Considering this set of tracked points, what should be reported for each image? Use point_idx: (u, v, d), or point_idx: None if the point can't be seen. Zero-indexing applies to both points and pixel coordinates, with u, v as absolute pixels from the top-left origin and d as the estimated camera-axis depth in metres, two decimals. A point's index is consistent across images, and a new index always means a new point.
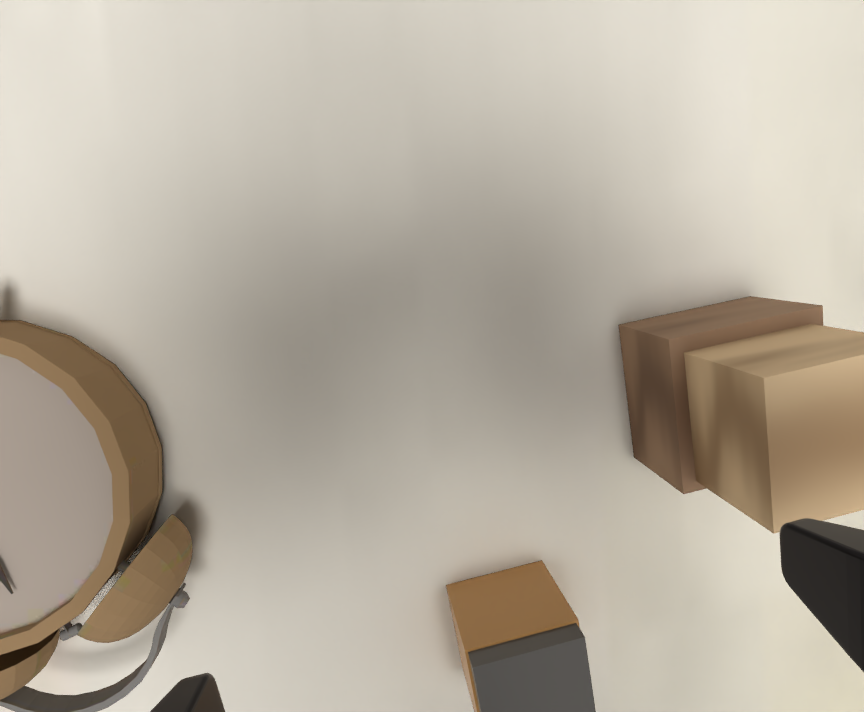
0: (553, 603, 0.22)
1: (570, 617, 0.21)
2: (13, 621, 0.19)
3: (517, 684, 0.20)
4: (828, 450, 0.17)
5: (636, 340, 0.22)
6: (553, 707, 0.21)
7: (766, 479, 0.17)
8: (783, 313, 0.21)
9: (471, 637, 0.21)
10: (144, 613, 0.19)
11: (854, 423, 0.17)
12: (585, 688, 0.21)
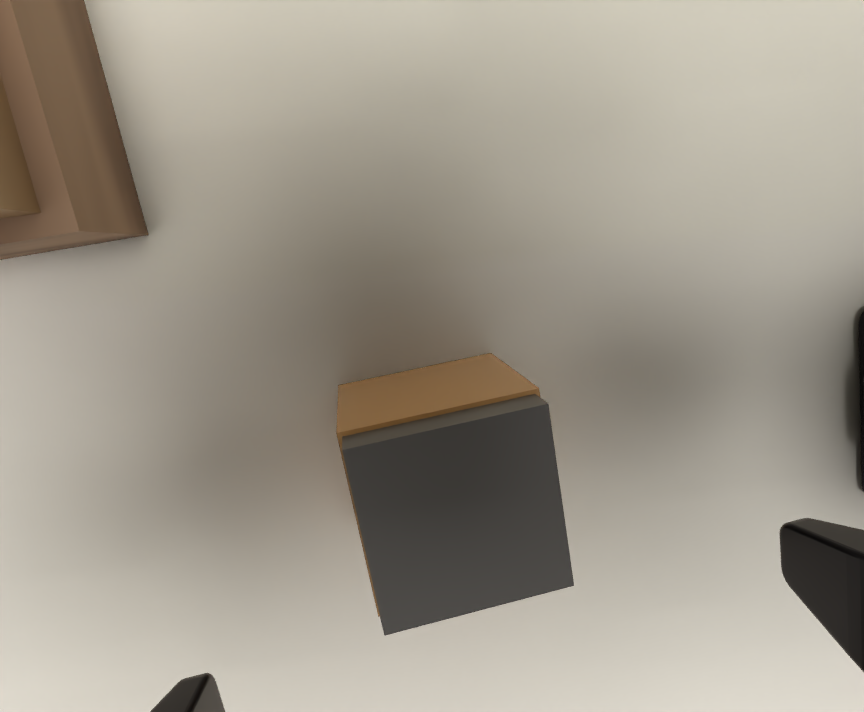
0: None
1: (339, 440, 0.12)
2: None
3: (426, 559, 0.12)
4: None
5: None
6: (482, 492, 0.12)
7: None
8: None
9: None
10: None
11: None
12: (451, 438, 0.11)
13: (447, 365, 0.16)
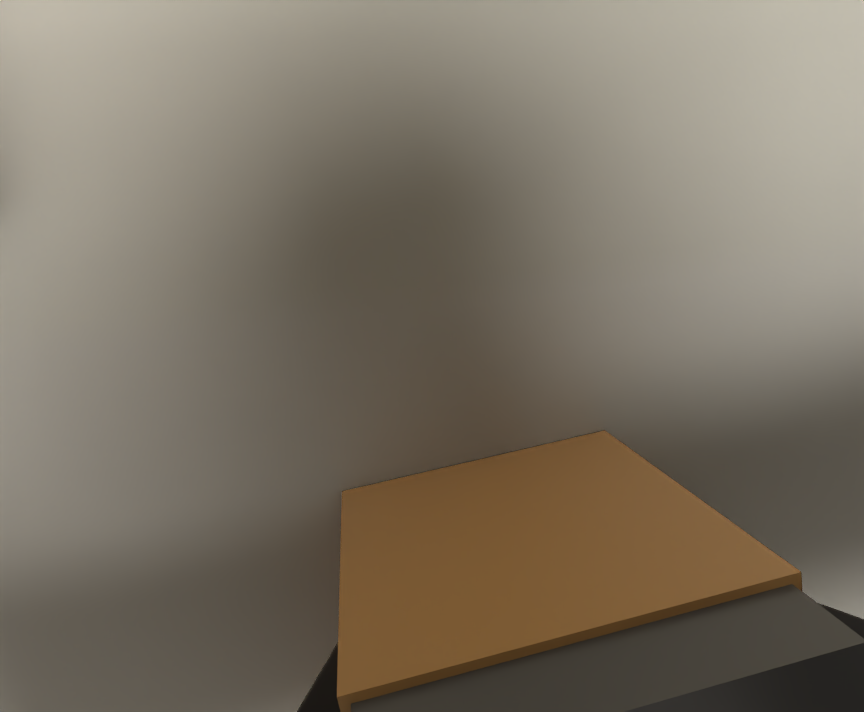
0: None
1: (342, 699, 0.05)
2: None
3: None
4: None
5: None
6: None
7: None
8: None
9: None
10: None
11: None
12: None
13: (535, 458, 0.09)
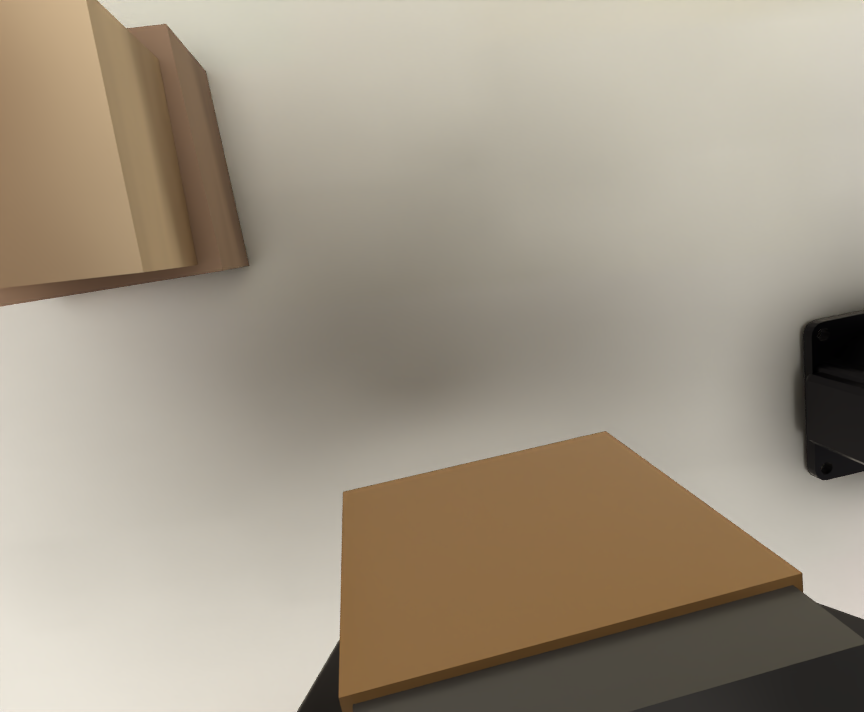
0: None
1: (343, 699, 0.05)
2: None
3: None
4: None
5: None
6: None
7: None
8: None
9: None
10: None
11: None
12: None
13: (536, 459, 0.09)
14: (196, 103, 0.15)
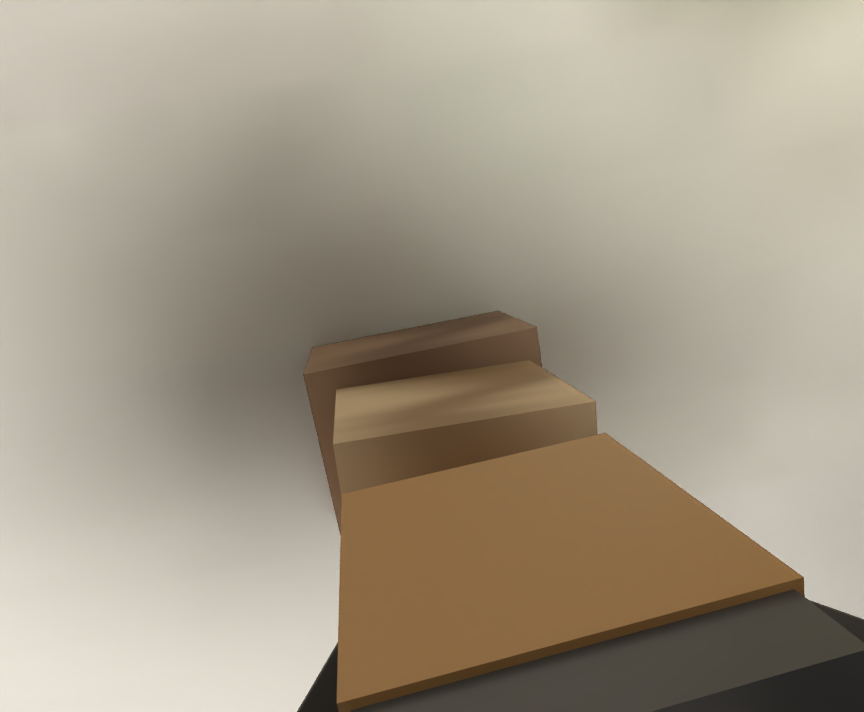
0: None
1: (343, 705, 0.05)
2: None
3: None
4: None
5: None
6: None
7: None
8: None
9: None
10: None
11: None
12: None
13: (536, 461, 0.09)
14: None
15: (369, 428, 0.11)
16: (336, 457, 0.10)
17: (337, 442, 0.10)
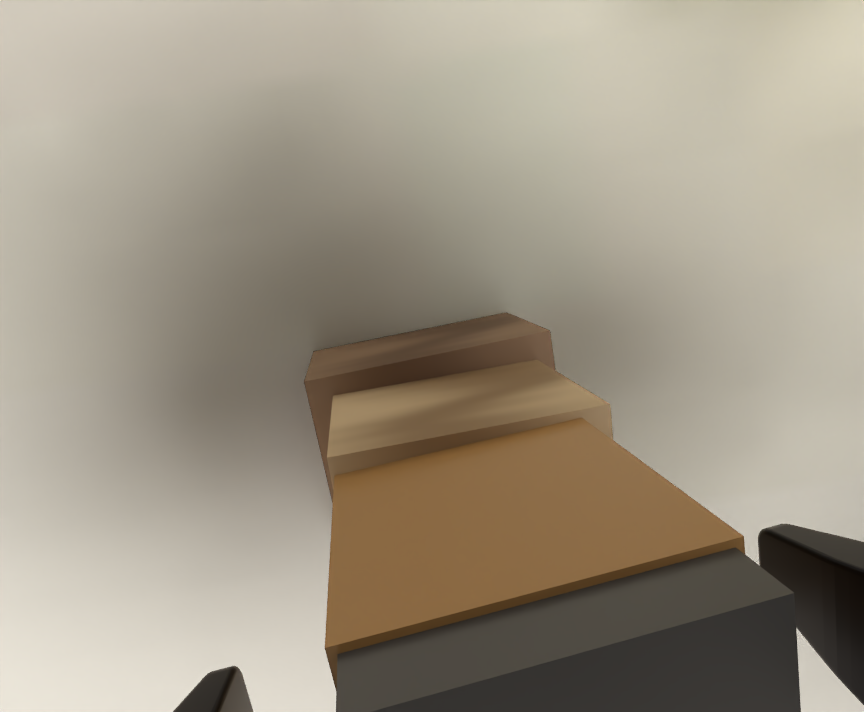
0: None
1: (330, 652, 0.06)
2: None
3: None
4: None
5: None
6: None
7: None
8: (318, 438, 0.14)
9: None
10: None
11: None
12: (583, 677, 0.05)
13: (515, 443, 0.09)
14: None
15: (367, 438, 0.10)
16: (331, 472, 0.10)
17: (331, 455, 0.10)
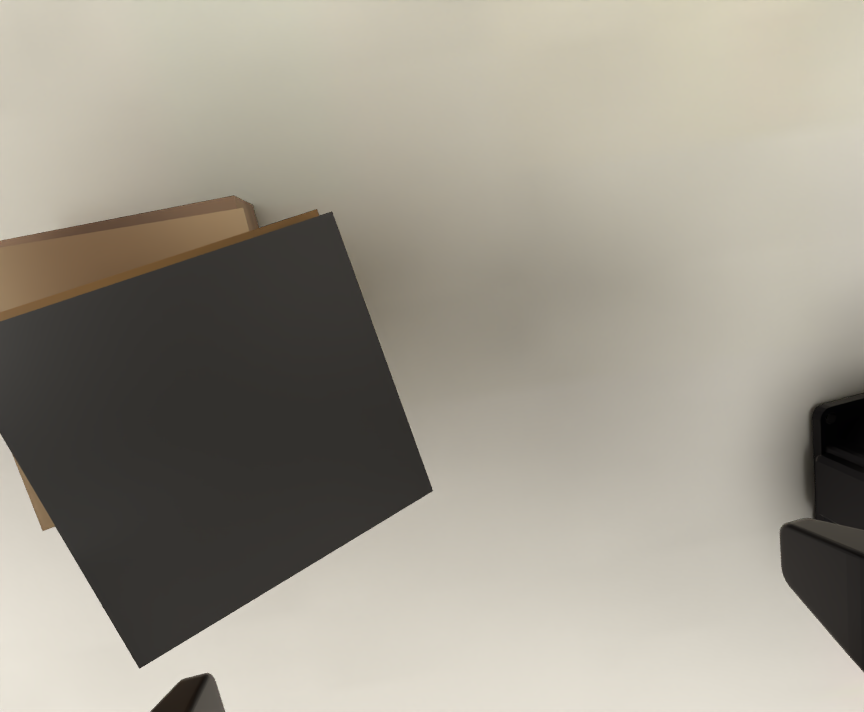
0: None
1: None
2: None
3: (186, 511, 0.07)
4: None
5: None
6: (257, 375, 0.07)
7: None
8: None
9: None
10: None
11: None
12: (178, 287, 0.06)
13: None
14: None
15: None
16: None
17: None
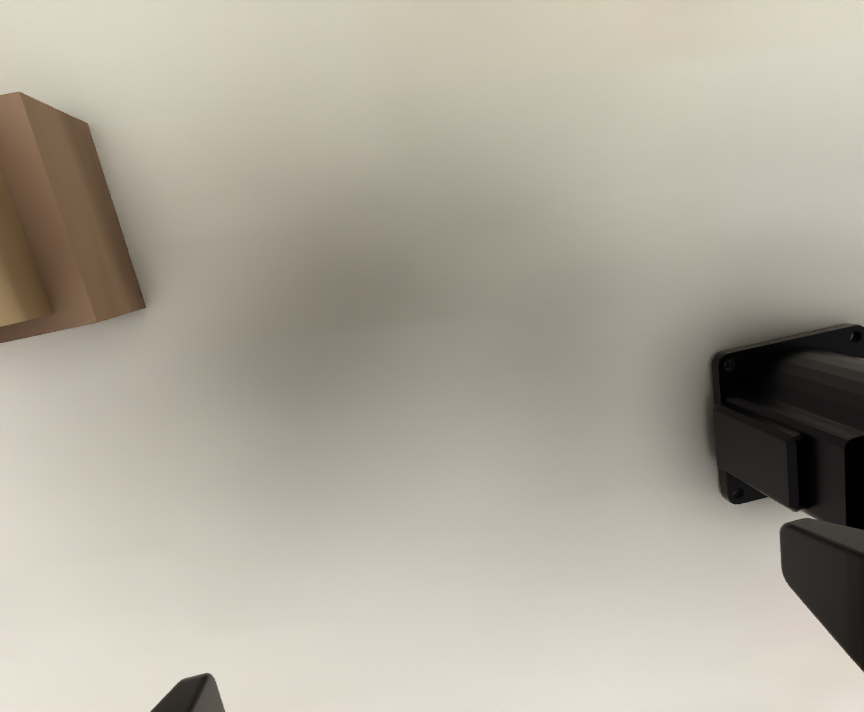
0: None
1: None
2: None
3: None
4: None
5: None
6: None
7: None
8: None
9: None
10: None
11: None
12: None
13: None
14: (66, 160, 0.16)
15: None
16: None
17: None
